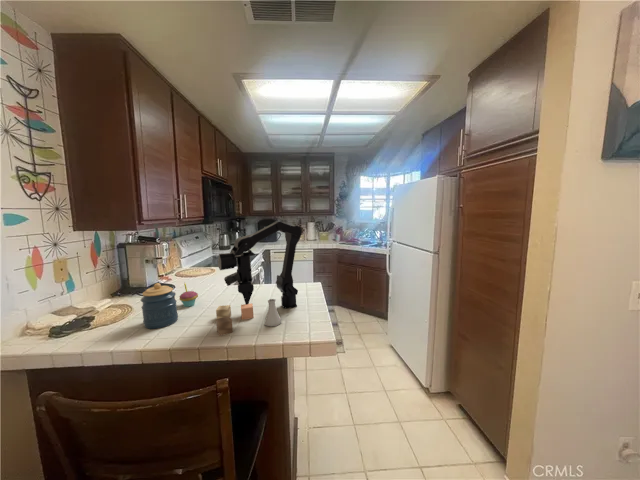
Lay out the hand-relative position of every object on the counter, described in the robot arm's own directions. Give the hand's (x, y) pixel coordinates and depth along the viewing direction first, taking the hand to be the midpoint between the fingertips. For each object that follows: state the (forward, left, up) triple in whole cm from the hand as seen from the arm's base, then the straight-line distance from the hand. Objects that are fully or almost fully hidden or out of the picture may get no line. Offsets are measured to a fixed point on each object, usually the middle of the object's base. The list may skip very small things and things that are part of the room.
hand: (246, 300), depth 118 cm
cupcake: (+28, -26, -7) cm, 39 cm away
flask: (-10, +11, -8) cm, 17 cm away
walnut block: (+9, +12, -7) cm, 17 cm away
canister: (+36, -7, -8) cm, 38 cm away
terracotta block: (0, 0, -7) cm, 7 cm away
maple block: (+10, -2, -7) cm, 13 cm away
